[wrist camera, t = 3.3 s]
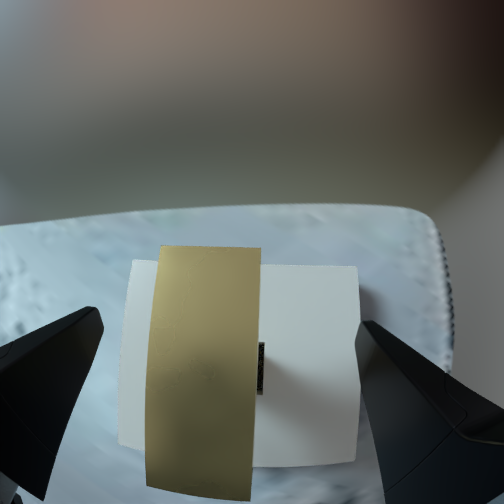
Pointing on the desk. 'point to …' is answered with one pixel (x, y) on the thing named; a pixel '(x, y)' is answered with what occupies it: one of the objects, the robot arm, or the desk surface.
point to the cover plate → (272, 364)
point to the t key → (203, 371)
